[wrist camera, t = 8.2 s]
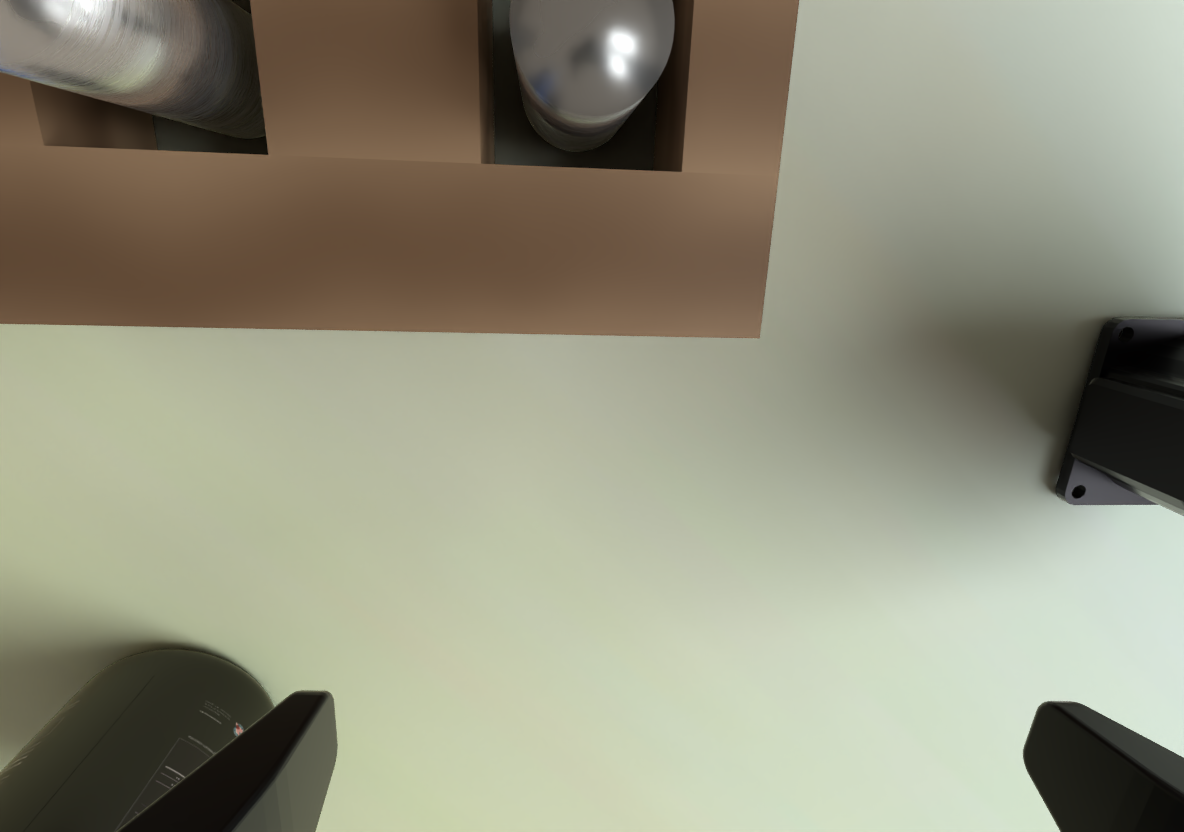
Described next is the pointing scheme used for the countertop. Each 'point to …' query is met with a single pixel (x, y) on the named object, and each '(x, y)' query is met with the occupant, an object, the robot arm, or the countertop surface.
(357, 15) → the hole block
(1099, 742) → the robot arm
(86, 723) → the supplement bottle
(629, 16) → the short grey peg
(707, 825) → the countertop surface
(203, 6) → the steel pin
